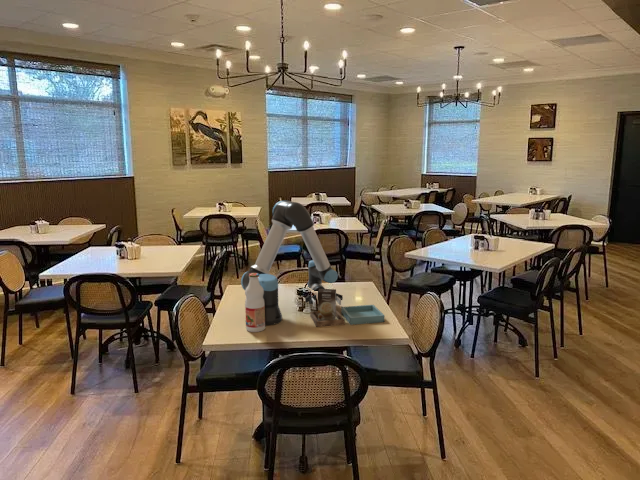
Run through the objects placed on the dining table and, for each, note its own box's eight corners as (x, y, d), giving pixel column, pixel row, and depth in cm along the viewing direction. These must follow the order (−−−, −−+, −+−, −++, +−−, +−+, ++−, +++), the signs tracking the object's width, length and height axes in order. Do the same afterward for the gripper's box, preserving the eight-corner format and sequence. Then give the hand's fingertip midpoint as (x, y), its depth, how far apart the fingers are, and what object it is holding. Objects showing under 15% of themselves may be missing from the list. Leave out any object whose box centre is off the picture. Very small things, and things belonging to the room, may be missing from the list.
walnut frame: (316, 326, 248) (316, 322, 247) (310, 316, 264) (310, 311, 263) (344, 324, 251) (344, 319, 250) (336, 314, 266) (336, 309, 266)
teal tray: (350, 324, 251) (350, 318, 250) (341, 313, 268) (341, 307, 267) (384, 321, 254) (384, 315, 254) (373, 310, 272) (373, 304, 271)
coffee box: (317, 322, 255) (317, 292, 252) (318, 318, 261) (318, 288, 258) (335, 322, 254) (335, 292, 251) (336, 318, 260) (336, 288, 257)
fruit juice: (265, 332, 242) (263, 276, 236) (245, 332, 241) (243, 276, 236) (265, 325, 251) (263, 271, 246) (246, 326, 250) (244, 271, 245)
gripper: (340, 296, 282) (350, 308, 261) (296, 299, 276) (303, 312, 256) (340, 283, 280) (350, 294, 260) (296, 286, 275) (303, 298, 255)
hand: (327, 303), depth 258 cm, fingers open, 13 cm apart
